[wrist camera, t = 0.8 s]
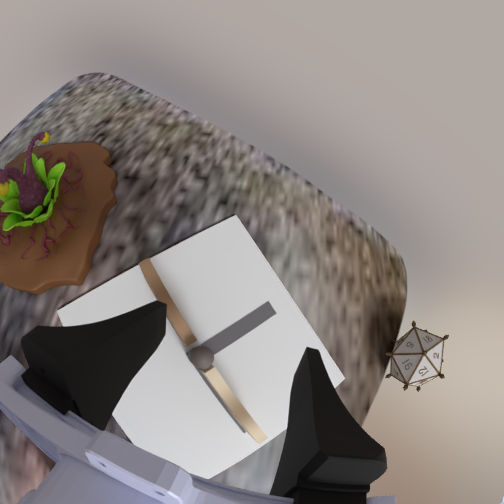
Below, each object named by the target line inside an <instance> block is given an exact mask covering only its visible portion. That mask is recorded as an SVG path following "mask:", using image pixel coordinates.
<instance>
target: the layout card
mask: <svg viewBox="0 0 504 504" xmlns="http://www.w3.org/2000/svg"><path fill="white" fill-rule="evenodd" d="M150 261H151V263H152V265H153V266H154V268H155V270H156V272H157V274H158V275H159V277H160V279H161V281H162V283H163V284H164V286H165V288H166V290H167V291H168V293H169V295H170V296H171V298H172V300H173V302H174V303H175V305H176V307H177V308H178V310H179V312H180V313H181V315H182V317H183V318H184V320H185V321H186V323H187V325H188V326H189V328H190V329H191V331H192V333H193V334H194V336H195V337H196V339H197V341H196V342H194V343H192V344H191V345H189V346H187V347H186V348H185V346H184V345H183V343H182V341H181V340H180V338H179V337H178V335H177V333H176V332H175V330H174V329H173V327H172V325H171V324H170V322H169V320H168V319H167V317H166V335H165V337H164V338H163V340H162V342H161V343H160V345H159V347H158V348H157V350H156V351H155V352H154V353H153V355H152V356H151V357H150V358H149V360H148V361H147V362H146V363H145V364H144V366H143V367H142V368H141V369H140V371H139V372H138V373H137V374H136V375H135V377H134V378H133V379H132V381H131V382H130V384H129V385H128V387H127V389H126V390H125V392H124V393H123V395H122V397H121V399H120V400H119V402H118V404H117V406H116V408H115V409H114V411H113V413H112V415H113V416H114V418H115V419H116V421H117V422H118V424H119V425H120V426H121V428H122V429H123V431H124V432H125V433H126V435H127V436H128V437H129V439H130V440H131V441H132V443H133V444H134V445H135V446H137V447H139V448H141V449H143V450H146V451H148V452H150V453H152V454H154V455H156V456H159V457H161V458H163V459H166V460H168V461H170V462H172V463H174V464H176V465H178V466H180V467H181V468H183V469H184V470H186V471H187V472H188V473H191V474H194V475H197V476H200V477H203V478H206V479H210V478H211V477H213V476H215V475H217V474H219V473H220V472H222V471H224V470H225V469H227V468H229V467H230V466H232V465H234V464H235V463H237V462H239V461H240V460H242V459H243V458H245V457H246V456H248V455H250V454H251V453H253V452H254V451H256V450H257V449H258V448H260V447H261V446H263V445H264V444H266V443H267V442H269V441H270V440H271V439H273V438H274V437H276V436H277V435H278V434H280V433H281V432H282V431H284V430H285V429H286V428H287V424H288V414H289V403H290V392H291V387H292V382H293V378H294V374H295V372H296V370H297V367H298V365H299V363H300V361H301V358H302V356H303V354H304V351H305V349H306V347H310V348H314V349H318V350H319V351H320V354H321V357H322V360H323V363H324V365H325V368H326V370H327V373H328V375H329V377H330V380H331V382H332V384H333V386H334V388H335V387H336V386H338V385H339V384H340V383H341V382H342V381H343V380H344V379H345V378H344V376H343V375H342V373H341V371H340V370H339V368H338V367H337V365H336V364H335V362H334V361H333V359H332V358H331V356H330V355H329V353H328V352H327V350H326V349H325V347H324V346H323V344H322V343H321V341H320V340H319V338H318V337H317V335H316V334H315V332H314V331H313V329H312V328H311V326H310V325H309V323H308V322H307V320H306V319H305V317H304V316H303V314H302V312H301V311H300V309H299V308H298V306H297V305H296V303H295V302H294V300H293V299H292V297H291V296H290V294H289V293H288V291H287V290H286V288H285V287H284V285H283V284H282V283H281V281H280V280H279V278H278V277H277V275H276V274H275V272H274V271H273V269H272V268H271V266H270V265H269V263H268V262H267V260H266V259H265V257H264V256H263V254H262V253H261V251H260V250H259V248H258V247H257V245H256V244H255V242H254V241H253V239H252V238H251V236H250V235H249V233H248V232H247V230H246V229H245V227H244V226H243V225H242V223H241V222H240V220H239V219H238V217H237V216H236V215H235V216H233V217H231V218H229V219H226V220H224V221H222V222H220V223H218V224H216V225H214V226H212V227H210V228H208V229H206V230H204V231H202V232H200V233H198V234H196V235H194V236H192V237H190V238H189V239H187V240H185V241H183V242H181V243H179V244H177V245H175V246H173V247H171V248H169V249H167V250H165V251H163V252H162V253H160V254H158V255H156V256H154V257H152V258H150ZM153 301H156V298H155V296H154V294H153V293H152V291H151V289H150V287H149V285H148V284H147V282H146V280H145V278H144V275H143V273H142V270H141V268H140V265H137V266H135V267H133V268H132V269H130V270H128V271H126V272H124V273H123V274H121V275H119V276H117V277H115V278H113V279H112V280H110V281H108V282H106V283H105V284H103V285H101V286H99V287H97V288H96V289H94V290H92V291H90V292H89V293H87V294H85V295H83V296H82V297H80V298H78V299H77V300H75V301H73V302H71V303H70V304H68V305H66V306H65V307H63V308H61V309H60V310H58V311H57V313H58V315H59V317H60V320H61V322H62V324H63V326H76V325H83V324H89V323H94V322H98V321H102V320H106V319H109V318H112V317H115V316H118V315H121V314H124V313H126V312H129V311H131V310H134V309H136V308H139V307H141V306H143V305H146V304H148V303H151V302H153ZM198 346H206V347H208V348H210V349H211V350H212V352H213V354H214V361H213V363H212V365H211V366H214V367H215V368H216V369H217V371H218V372H219V374H220V375H221V376H222V378H223V379H224V381H225V382H226V383H227V385H228V386H229V388H230V389H231V390H232V392H233V393H234V395H235V396H236V397H237V399H238V400H239V401H240V403H241V404H242V405H243V407H244V408H245V409H246V410H247V412H248V413H249V414H250V416H251V417H252V418H253V420H254V421H255V422H256V423H257V425H258V426H259V427H260V428H261V430H262V431H263V432H264V433H265V434H266V436H267V437H268V439H266V440H265V441H263V442H262V443H260V444H258V443H257V442H256V441H255V440H254V439H253V438H252V437H251V436H250V435H249V434H248V433H247V432H246V431H245V430H244V428H243V427H242V426H241V425H240V423H239V422H238V421H237V420H236V418H235V417H234V416H233V414H232V413H231V412H230V411H229V409H228V408H227V407H226V405H225V404H224V403H223V401H222V400H221V399H220V397H219V396H218V394H217V393H216V392H215V390H214V389H213V388H212V386H211V385H210V383H209V382H208V381H207V379H206V378H205V376H204V375H203V373H202V372H201V370H200V368H197V367H196V366H194V365H193V364H192V363H191V362H190V361H189V359H188V352H189V351H190V350H191V349H192V348H194V347H198Z"/></svg>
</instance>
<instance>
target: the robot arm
mask: <svg viewBox="0 0 504 504" xmlns="http://www.w3.org/2000/svg"><path fill="white" fill-rule="evenodd" d="M166 315H167V304H166V303H163V302H160V301H158V300H156V301H153V302H151V303H148V304H146V305H143V306H141V307H139V308H136V309H134V310H131V311H129V312H126V313H124V314H121V315H118V316H115V317H112V318H109V319H106V320H102V321H98V322H94V323H89V324H83V325H76V326H63V327H50V326H37V327H35V328H34V329H33V330H31V331H30V332H29V333H27V334H26V335H25V336H23V337H22V339H21V346H22V349H23V352H24V354H25V357H26V359H27V362H28V364H29V367H30V368H29V369H27V370H26V369H25V368H24V367H23V366H22V365H21V364H20V363H19V362H18V361H17V360H16V359H15V358H14V357H13V356H11V355H10V356H9V357H8V358H6V359H5V360H4V361H3V362H2V363H0V409H1V411H2V412H3V413H4V414H5V415H6V416H7V417H8V418H9V419H10V420H11V421H12V422H13V423H14V424H15V425H16V426H17V427H18V428H19V429H20V430H21V431H22V432H23V433H24V434H25V435H26V436H27V437H28V438H29V439H30V440H31V441H32V442H33V443H34V444H35V445H36V446H37V447H38V448H39V449H40V450H41V451H43V452H44V453H45V454H46V455H47V456H48V457H49V458H51V459H52V460H53V461H54V462H55V463H56V465H55V466H54V467H53V469H52V470H51V471H50V473H49V474H48V475H47V476H46V478H45V479H44V480H43V482H42V483H41V484H40V486H39V487H38V488H37V490H31V491H29V492H28V493H27V494H26V495H25V496H24V497H23V498H22V499H21V500H20V501H19V502H18V503H17V504H396V496H380V497H371V498H367V499H366V493H368V492H369V490H370V484H371V483H372V482H373V481H375V480H376V479H378V478H379V477H380V476H381V475H382V474H383V473H384V472H385V471H386V469H387V460H386V454H385V449H384V448H383V447H382V446H381V445H380V444H379V443H377V442H376V441H375V440H374V439H372V438H371V437H370V436H369V435H368V434H367V433H366V432H365V431H364V430H363V429H362V428H361V426H360V425H359V424H358V423H357V422H356V421H355V419H354V418H353V417H352V416H351V414H350V413H349V412H348V410H347V409H346V407H345V406H344V404H343V403H342V401H341V399H340V398H339V396H338V394H337V392H336V390H335V388H334V386H333V384H332V382H331V380H330V377H329V375H328V373H327V370H326V368H325V365H324V363H323V360H322V357H321V354H320V351H319V350H318V349H314V348H310V347H306V349H305V351H304V354H303V356H302V358H301V361H300V363H299V365H298V367H297V370H296V372H295V374H294V378H293V382H292V387H291V392H290V403H289V414H288V424H287V432H286V438H285V442H284V446H283V451H282V454H281V458H280V462H279V466H278V469H277V473H276V476H275V479H274V483H273V486H272V489H271V492H270V495H268V494H263V493H258V492H253V491H249V490H245V489H240V488H237V487H233V486H229V485H225V484H222V483H219V482H215V481H212V480H209V479H206V478H203V477H200V476H197V475H194V474H191V473H188V472H187V471H186V470H184V469H183V468H181V467H180V466H178V465H176V464H174V463H172V462H170V461H168V460H166V459H163V458H161V457H159V456H156V455H154V454H152V453H150V452H148V451H146V450H143V449H141V448H139V447H137V446H135V445H133V444H131V443H129V442H127V441H126V440H124V439H122V438H120V437H118V436H116V435H114V434H112V433H110V432H108V431H104V430H105V428H106V426H107V423H108V421H109V419H110V417H111V415H112V413H113V411H114V409H115V408H116V406H117V404H118V402H119V400H120V399H121V397H122V395H123V393H124V392H125V390H126V389H127V387H128V385H129V384H130V382H131V381H132V379H133V378H134V377H135V375H136V374H137V373H138V372H139V371H140V369H141V368H142V367H143V366H144V364H145V363H146V362H147V361H148V360H149V358H150V357H151V356H152V355H153V353H154V352H155V351H156V350H157V348H158V347H159V345H160V343H161V342H162V340H163V338H164V337H165V335H166Z"/></svg>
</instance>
